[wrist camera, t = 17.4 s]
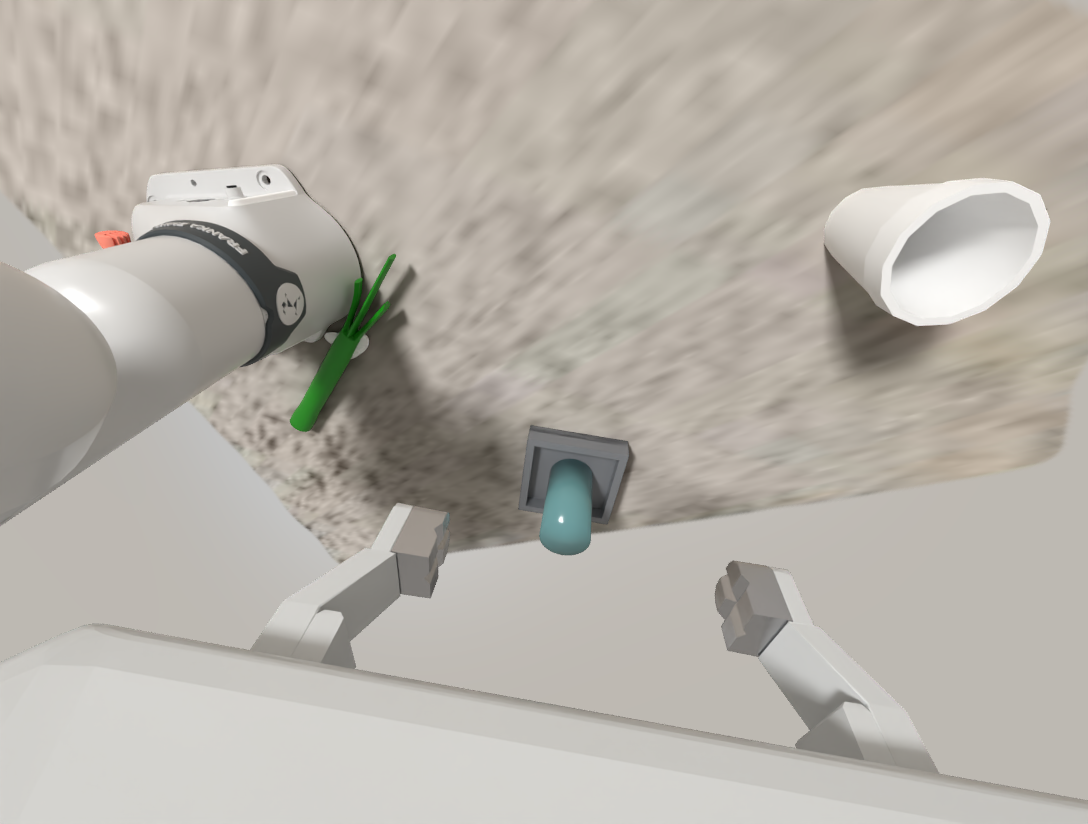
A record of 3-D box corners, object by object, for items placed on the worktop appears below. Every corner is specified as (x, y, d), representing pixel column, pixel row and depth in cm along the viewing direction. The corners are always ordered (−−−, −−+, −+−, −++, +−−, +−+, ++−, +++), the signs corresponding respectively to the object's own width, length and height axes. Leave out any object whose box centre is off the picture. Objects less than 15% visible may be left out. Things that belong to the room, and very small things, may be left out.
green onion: (321, 422, 61) (419, 265, 45) (308, 437, 58) (406, 275, 42) (290, 403, 60) (379, 233, 44) (275, 417, 57) (363, 242, 41)
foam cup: (848, 294, 43) (933, 349, 32) (783, 240, 41) (850, 280, 30) (944, 207, 38) (1081, 238, 27) (875, 142, 36) (995, 146, 25)
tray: (521, 494, 63) (518, 509, 61) (530, 425, 56) (527, 438, 53) (607, 509, 63) (607, 524, 61) (627, 441, 56) (629, 455, 53)
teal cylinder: (546, 486, 60) (536, 549, 51) (553, 454, 57) (543, 515, 48) (587, 495, 60) (584, 559, 51) (597, 463, 57) (595, 526, 48)
